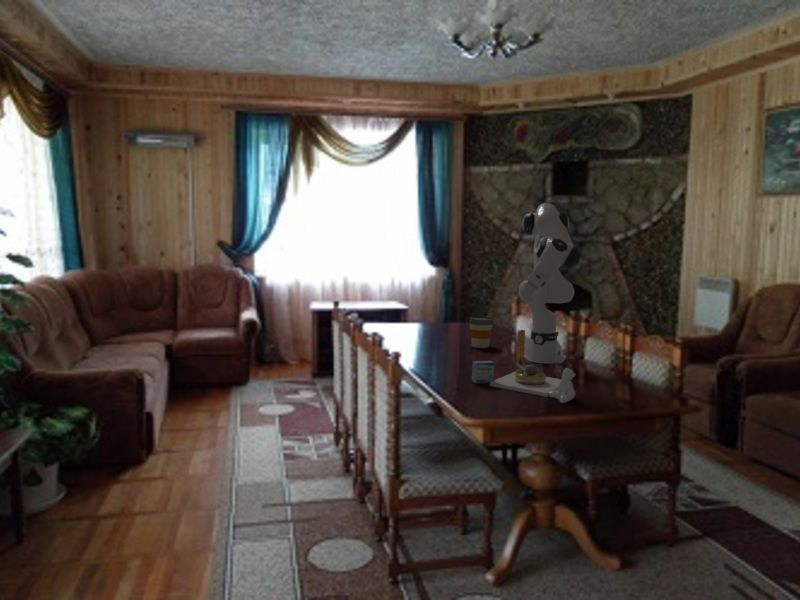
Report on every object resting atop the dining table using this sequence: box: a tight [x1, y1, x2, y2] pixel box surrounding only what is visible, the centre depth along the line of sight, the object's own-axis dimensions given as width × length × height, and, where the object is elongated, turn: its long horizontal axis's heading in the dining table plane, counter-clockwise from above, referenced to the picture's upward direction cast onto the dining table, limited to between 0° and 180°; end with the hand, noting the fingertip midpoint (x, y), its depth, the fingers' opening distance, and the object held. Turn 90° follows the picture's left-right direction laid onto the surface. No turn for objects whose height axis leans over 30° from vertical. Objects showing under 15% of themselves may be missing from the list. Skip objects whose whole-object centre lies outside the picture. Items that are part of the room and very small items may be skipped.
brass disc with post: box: [515, 329, 547, 385], centre depth 252 cm, size 22×12×18 cm, turn 7°
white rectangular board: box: [489, 364, 562, 398], centre depth 248 cm, size 24×24×8 cm
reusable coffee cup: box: [469, 316, 494, 349], centre depth 323 cm, size 13×13×15 cm
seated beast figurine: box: [548, 367, 576, 404], centre depth 229 cm, size 10×9×12 cm
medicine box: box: [471, 360, 495, 385], centre depth 250 cm, size 8×4×9 cm, turn 105°
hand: (528, 300), depth 262 cm, fingers closed
